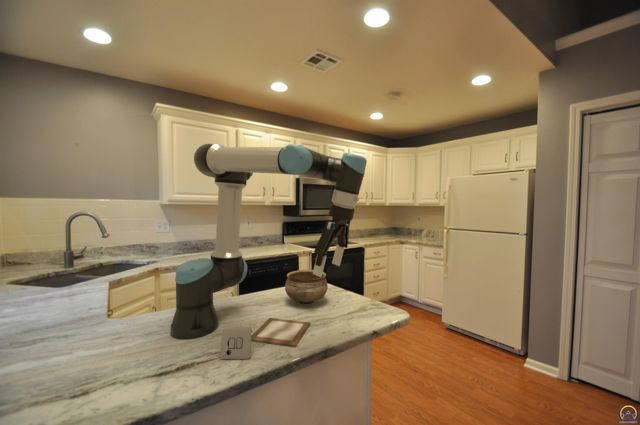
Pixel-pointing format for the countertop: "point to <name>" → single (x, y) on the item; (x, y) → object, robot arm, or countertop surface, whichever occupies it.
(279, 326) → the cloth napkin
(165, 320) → the countertop surface
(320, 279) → the cooking pot
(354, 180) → the robot arm
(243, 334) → the electrical switch
